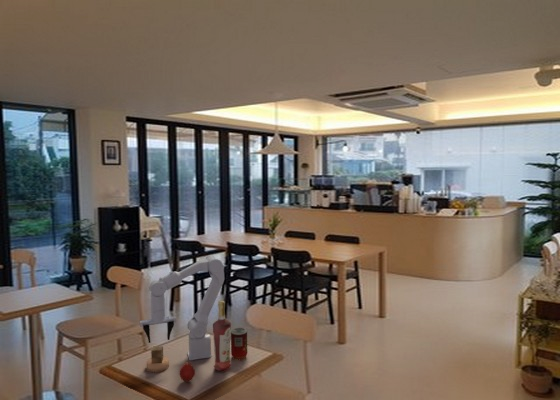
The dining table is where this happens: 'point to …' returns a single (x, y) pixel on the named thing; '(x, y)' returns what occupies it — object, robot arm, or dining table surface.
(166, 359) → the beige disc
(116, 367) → the dining table surface
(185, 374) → the onion
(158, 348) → the walnut block
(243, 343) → the soda can
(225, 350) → the liquor
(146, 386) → the dining table surface
